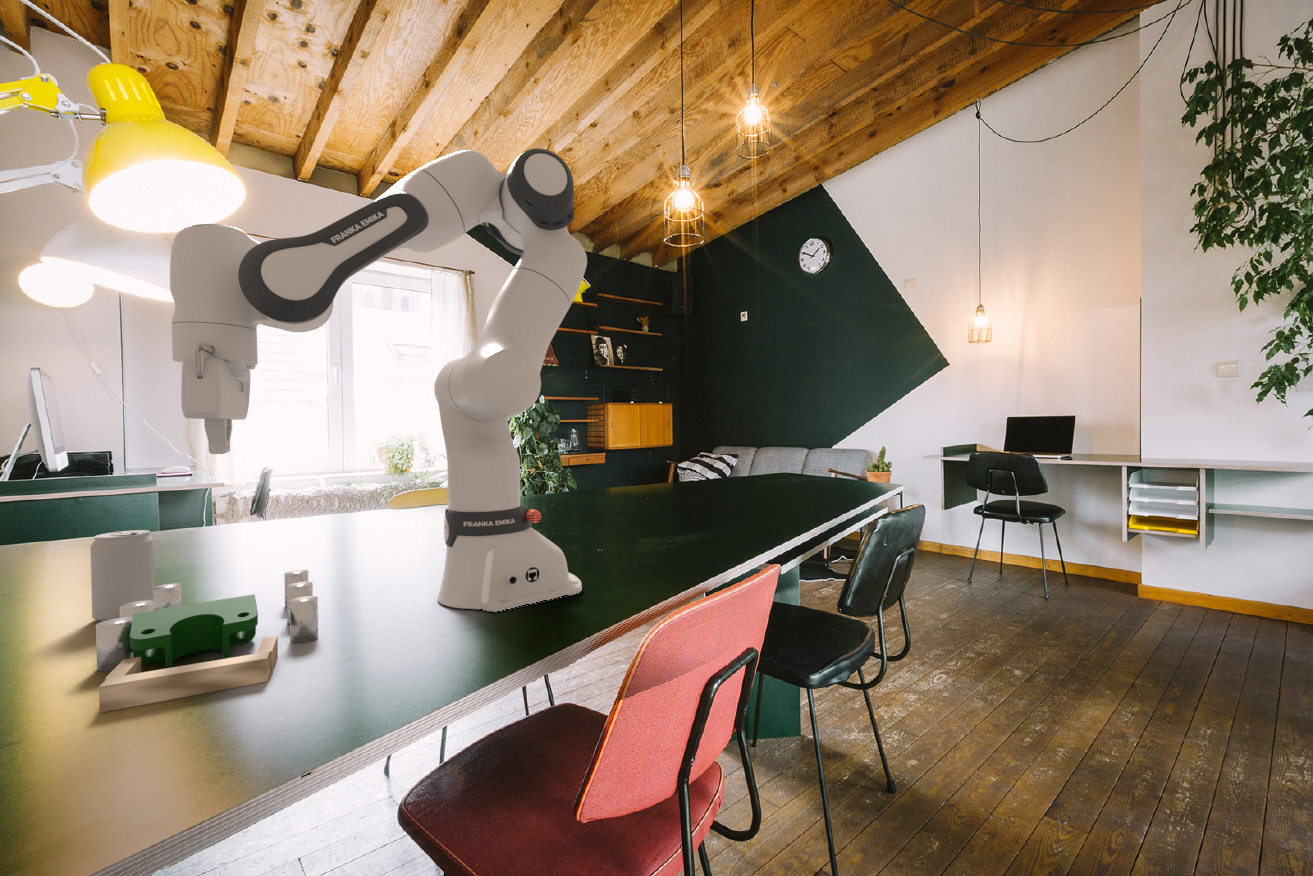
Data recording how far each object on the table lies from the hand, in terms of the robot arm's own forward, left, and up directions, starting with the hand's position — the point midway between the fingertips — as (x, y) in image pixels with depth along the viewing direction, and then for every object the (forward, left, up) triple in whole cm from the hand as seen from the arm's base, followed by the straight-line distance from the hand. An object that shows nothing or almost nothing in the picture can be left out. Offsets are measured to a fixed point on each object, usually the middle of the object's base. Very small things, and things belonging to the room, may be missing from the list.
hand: (219, 453), depth 73 cm
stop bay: (-1, +19, -23) cm, 30 cm away
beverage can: (+13, -12, -24) cm, 30 cm away
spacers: (-1, +2, -23) cm, 24 cm away
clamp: (+1, +11, -24) cm, 26 cm away
